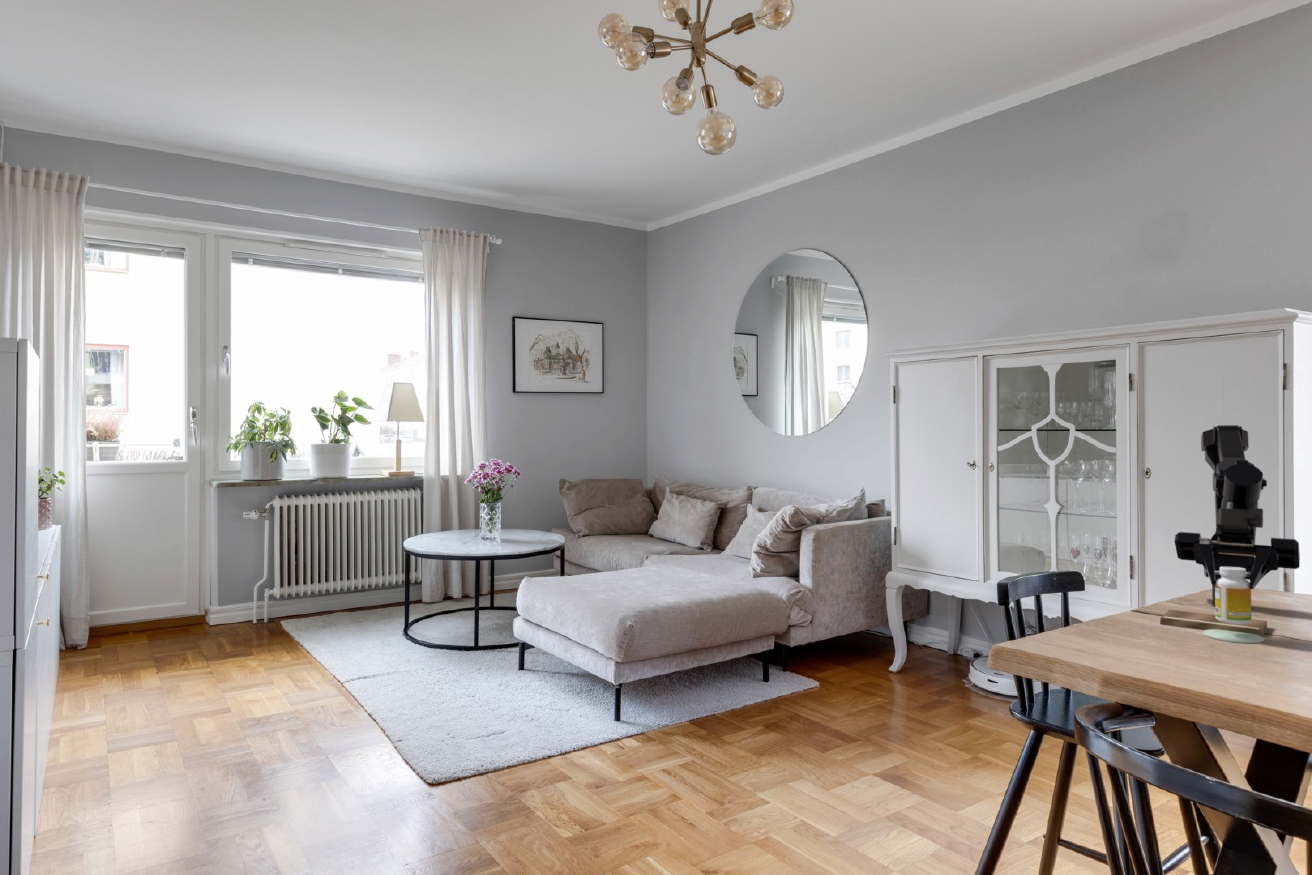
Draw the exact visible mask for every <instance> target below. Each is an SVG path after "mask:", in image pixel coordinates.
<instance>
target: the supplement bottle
mask: <svg viewBox="0 0 1312 875" xmlns="http://www.w3.org/2000/svg"><path fill="white" fill-rule="evenodd" d="M1218 572H1219V573H1220V575H1221V578H1219V579H1217V580H1216V581H1215V606H1214V607H1215V608H1214V609H1215V610H1214V611H1215V612H1214V613H1215V614H1214V615H1215V617H1216V619H1217V620H1219V621H1223V622H1228V623H1237V624H1246V623H1250V622H1251V619H1252V589H1250V581H1249V580H1248V579H1245V577H1246V574H1247V572H1246V569H1245V568H1240V567H1229V566H1224V567H1220V571H1218Z"/></svg>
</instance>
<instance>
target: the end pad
mask: <svg viewBox="0 0 1312 875" xmlns="http://www.w3.org/2000/svg"><path fill="white" fill-rule="evenodd" d="M1203 635H1204V636H1205V637H1207V638H1209V639H1213V640H1217V641H1221V642H1229V643H1235V644H1237V643H1238V644H1260V643H1263V642H1265V638H1264V637H1263V636H1259V635H1256V634H1252V633H1244V632H1236V631H1228V630H1220V629H1210V630H1203Z"/></svg>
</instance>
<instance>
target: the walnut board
mask: <svg viewBox="0 0 1312 875" xmlns="http://www.w3.org/2000/svg"><path fill="white" fill-rule="evenodd" d="M1159 620H1160V625H1166V626H1174V627H1180V628H1189V629H1197V630H1202V631H1205V630H1210V629H1220V630H1228V631H1236V632H1244V633H1252V634H1256V635H1259V636H1262V637H1263V636H1264V634H1265V633H1266V630H1267V629H1268V621H1267V620H1261V619H1260V620H1259V619H1253V618H1251V622H1250V623H1246V624H1237V623H1228V622H1223V621H1219V620H1217V619H1216V617H1215V614H1211V613H1210V614H1209V613H1208V614H1207V613H1200V612H1192V611H1183V610H1175V609H1168V610H1167V611H1166V613H1164V614H1163V615H1162V616H1161V617H1160V618H1159Z"/></svg>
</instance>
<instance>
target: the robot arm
mask: <svg viewBox="0 0 1312 875" xmlns="http://www.w3.org/2000/svg"><path fill="white" fill-rule="evenodd" d="M1200 449H1201V450H1200V451H1201V452H1204V461H1205V462H1206V463H1207V464H1208V466H1209V467H1210V468H1211V469H1212V470H1213V474H1212V490H1213V491H1214V508H1215V509H1214V510H1215V512H1214V513H1215V532H1214V534H1213V535H1212V536H1211V538H1207V537H1202V535H1201V533H1200V532H1187V531H1186V532H1185V531H1179V532H1177V533H1176V534H1175V535H1174V545H1175V550H1176V556H1177V558H1178V559H1179V560H1181V561H1192V562H1193V561H1194V562H1195V563H1196V564H1197V565H1202V566H1203V574H1204V577H1205V578H1209V582H1210V583H1211V595H1212V596H1211V597H1212V598H1208V599H1206V602H1207V603H1209V605H1212V606H1213V607H1215V581H1216V580H1217V579H1219V578H1221V575H1220V573H1219V572H1220V567H1224V566H1229V567H1240V568H1245V569H1246V577H1245V580H1247V581H1249V582H1250V589H1251V590H1254V589H1255V588H1256V586H1257V585H1258V584H1259V583H1260V581H1262V579H1263V578H1264V577H1265V576H1266V575H1267V574H1268V573H1270V572H1271V571H1278V570H1279V568H1280V569H1291V570H1297V569H1299V568H1300V564H1301V562H1300V560H1301V559H1300V557H1301V555H1300V554H1301V553H1300V542H1299V541H1298V540H1297V539H1295V538H1285V537H1284V538H1283V537H1282V538H1281V537H1271V538H1270V545H1264V544H1256V536H1257V535H1256V533H1257V528H1262V529H1263V526H1264V510H1263V508H1259V501H1260V498H1261V492H1262V491H1263V490H1264V488H1265V487H1267V485H1268V483H1267V482H1268V481H1267V480H1266V479H1265V478H1263V475H1264V474H1263V472H1262V471H1261V469H1260V468H1259V467H1257V466H1256V465H1255V464H1254V463H1252V462H1250V461H1249V460H1247V459H1246V456H1245V452H1247V451H1248V449H1249V431H1247V430H1245V429H1243V426H1241V425H1240V426H1239V425H1238V424H1235V425H1234V424H1233V425H1231V424H1230V425H1229V424H1227V425H1225V424H1223V425H1222V424H1220V425H1216V426H1213V427H1212V428H1211V429H1208V430H1205V431H1204V430H1203V431H1202V432H1201V436H1200Z"/></svg>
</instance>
